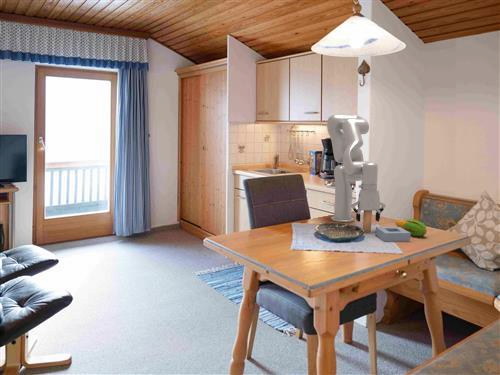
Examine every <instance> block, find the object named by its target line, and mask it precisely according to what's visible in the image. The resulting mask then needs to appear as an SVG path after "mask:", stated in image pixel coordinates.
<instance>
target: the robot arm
mask: <svg viewBox="0 0 500 375" xmlns="http://www.w3.org/2000/svg"><path fill="white" fill-rule="evenodd" d="M326 123H327V124H326V129H327V132H328V135H329V138H330V140H331V145H332V146H331V147H332V153H333V157H334V161H335V162H337V163H339V164H338V165H336V166H335V167H334V169H333V177H334V189H335V190H334V206H333V207H334V210H333V211H334V212H333V213H334V214H333V216H331V217H330V220H332V221H334V222H338V223H351V222H354V221H355V220H356V221H357V222H359V223H360V222H361V212H362V211H363V212H364V211H370V210H372V211H375V212H376V213H375V221H376V222H380V220H381V213H382V212H383V211H384V210H385V208H386V206H387V205H386V204H384V203H383V202H381V200H380V191H379V189H378V172H379V167H378V164H377V163H376V162H371V161H367V160H364V155H363V151H362V147H363V145H364V140H363V137H362V135H366V134H367V133H368V132H369V131H370V130H369V129H370V124H369V122H368V120H367V119H366V118H364V117H362V116H360V115H358V114H351V113H350V114H348V113H347V114H343V113H340V114H339V113H337V114H332V115H330V116H329V117H328V119H327V122H326ZM350 182H361V184H359V185H358V189H360V190H359V193H358V199H357V201H356V202H354V203H353V187H352V185H351V183H350ZM356 206H357V208H356ZM352 210H353V212H354V213H355V218H354V217H353V216H352Z"/></svg>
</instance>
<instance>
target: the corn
mask: <svg viewBox="0 0 500 375" xmlns="http://www.w3.org/2000/svg"><path fill="white" fill-rule="evenodd" d="M403 218H404V220H397V221H395V226H396V227H401V228H403V229H404V230H406V231H408V232H410V233H411V234H410V237H411V236H412V237H415V238H417V237H423V236H425V235H426V234H427V232H428V230H427V226H426V225H425V223H423V222H421V221H419V220H416V219H411V218H405V217H403Z"/></svg>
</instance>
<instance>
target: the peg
mask: <svg viewBox="0 0 500 375" xmlns="http://www.w3.org/2000/svg"><path fill="white" fill-rule="evenodd" d="M372 212H373V210H370V211H364V210H363V215H362V216H363V220H362V231H363V230H364V232H363V233H371V232H372V220H373V219H372V218H373V214H372Z"/></svg>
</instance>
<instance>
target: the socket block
mask: <svg viewBox="0 0 500 375" xmlns="http://www.w3.org/2000/svg"><path fill="white" fill-rule="evenodd" d="M410 234H411V233H410V232H408V231H406V230H404V229H403V228H401V227H398V226H376V227H375V236H376V235H377V236H376V237H378V238H379V239H380V238H381V240H382V241H383V240H384V241H383V242H385V241H391V242H395V243H396V242H397V243H398V242H411V235H410Z"/></svg>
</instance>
